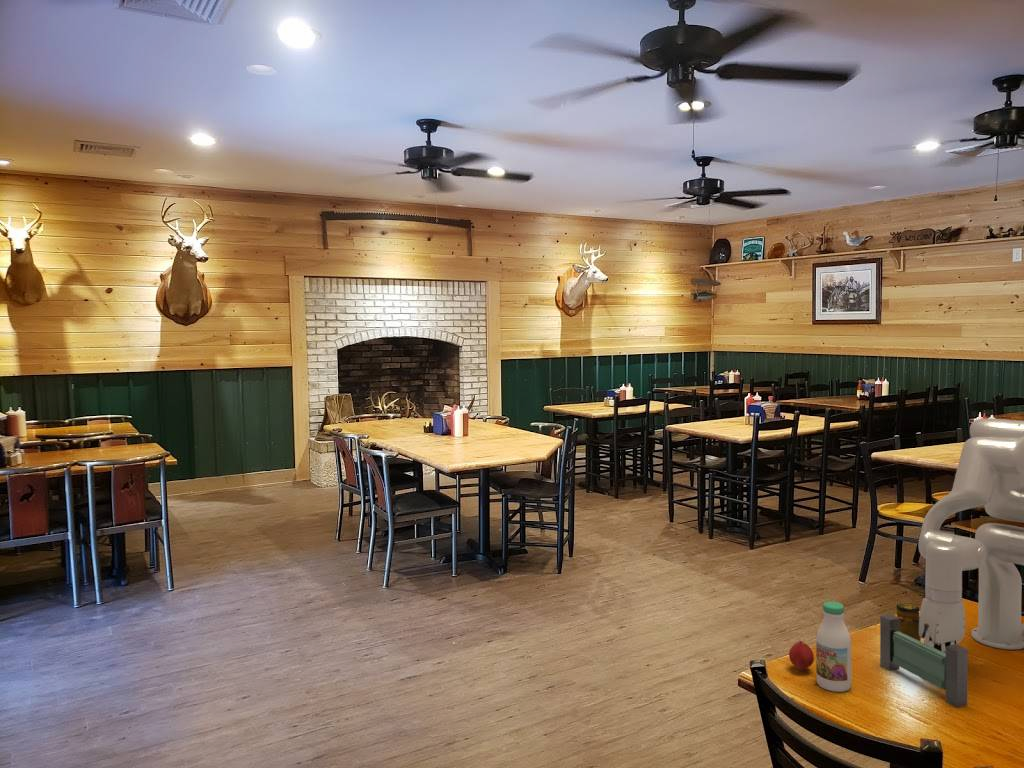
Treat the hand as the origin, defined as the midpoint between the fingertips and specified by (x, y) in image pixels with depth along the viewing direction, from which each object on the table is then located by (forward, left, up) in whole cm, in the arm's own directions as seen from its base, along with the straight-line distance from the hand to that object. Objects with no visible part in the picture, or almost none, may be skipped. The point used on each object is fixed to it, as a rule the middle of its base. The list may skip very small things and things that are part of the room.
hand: (942, 667), depth 177 cm
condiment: (-6, -15, -4) cm, 17 cm away
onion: (+27, -17, -3) cm, 32 cm away
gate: (+6, -1, -1) cm, 6 cm away
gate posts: (+6, -1, -3) cm, 7 cm away
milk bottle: (+25, -8, -3) cm, 27 cm away
